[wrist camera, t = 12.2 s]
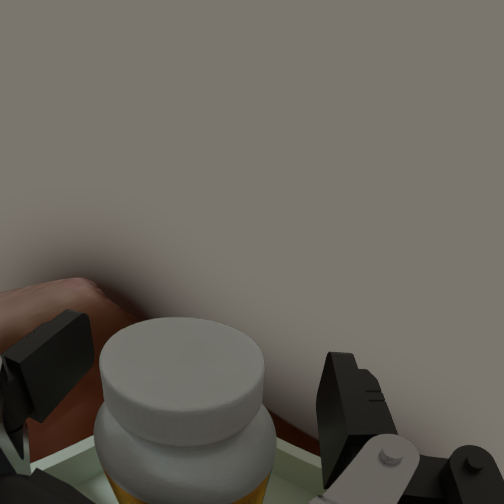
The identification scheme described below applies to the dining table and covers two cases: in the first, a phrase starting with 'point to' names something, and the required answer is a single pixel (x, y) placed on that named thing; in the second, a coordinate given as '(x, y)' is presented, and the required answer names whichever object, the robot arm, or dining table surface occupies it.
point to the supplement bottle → (184, 414)
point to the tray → (100, 492)
